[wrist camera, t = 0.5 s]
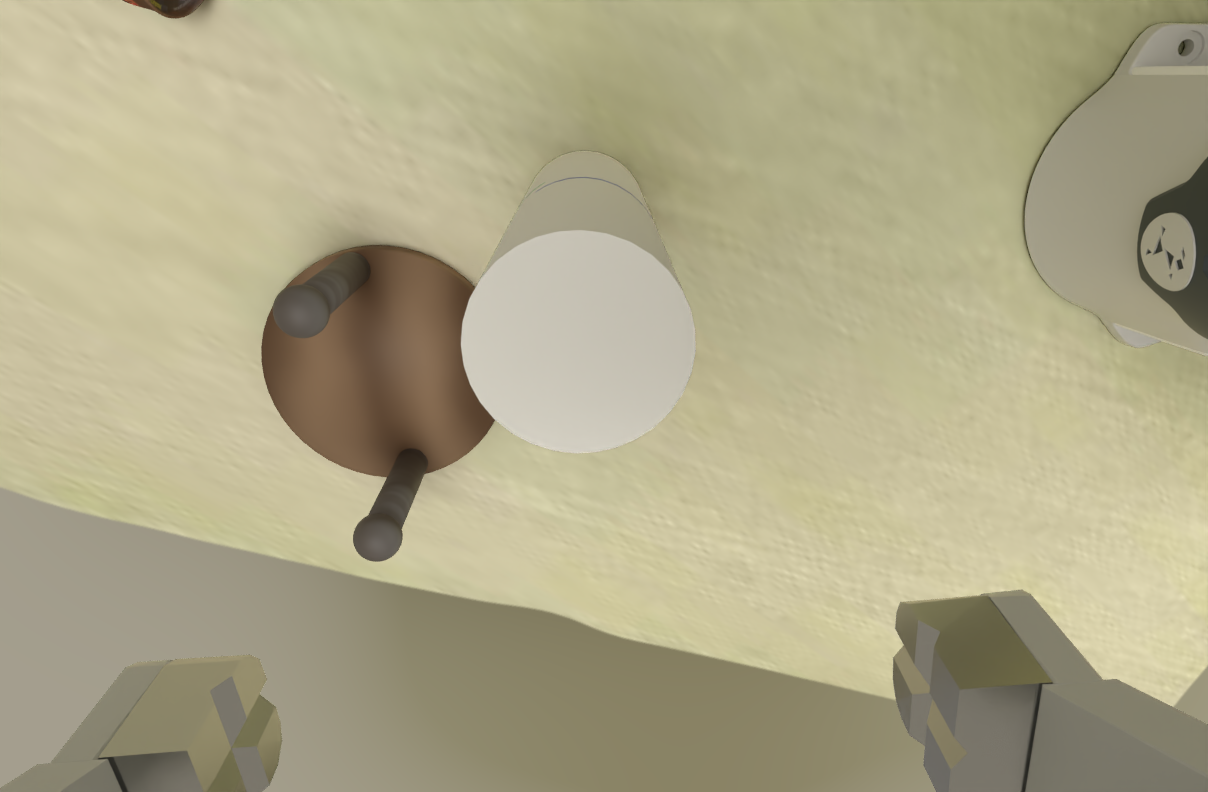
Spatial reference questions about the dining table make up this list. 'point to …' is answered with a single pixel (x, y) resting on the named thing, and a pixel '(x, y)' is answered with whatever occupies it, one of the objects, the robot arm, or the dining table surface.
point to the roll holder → (376, 374)
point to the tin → (169, 6)
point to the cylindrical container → (579, 314)
